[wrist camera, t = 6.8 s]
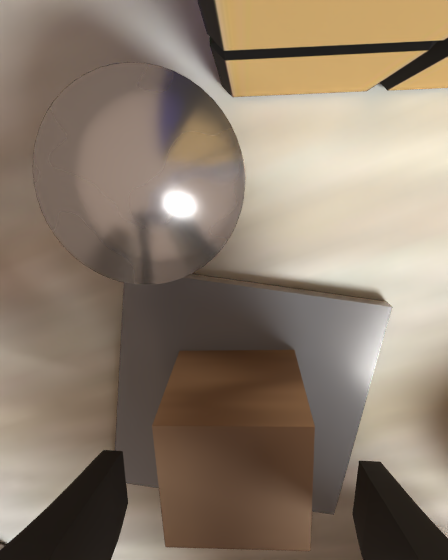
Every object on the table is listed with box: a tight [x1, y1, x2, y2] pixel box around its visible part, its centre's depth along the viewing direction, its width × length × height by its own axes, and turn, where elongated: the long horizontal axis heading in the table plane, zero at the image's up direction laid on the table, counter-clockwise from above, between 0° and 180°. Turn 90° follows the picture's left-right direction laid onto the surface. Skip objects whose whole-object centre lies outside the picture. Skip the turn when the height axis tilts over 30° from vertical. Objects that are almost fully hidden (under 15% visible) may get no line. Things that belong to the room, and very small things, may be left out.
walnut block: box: [152, 350, 315, 551], centre depth 13 cm, size 4×4×4 cm
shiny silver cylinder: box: [33, 62, 246, 285], centre depth 11 cm, size 5×5×5 cm
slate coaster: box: [115, 274, 392, 515], centre depth 16 cm, size 10×10×1 cm
